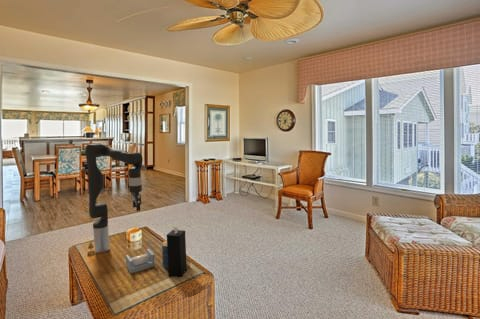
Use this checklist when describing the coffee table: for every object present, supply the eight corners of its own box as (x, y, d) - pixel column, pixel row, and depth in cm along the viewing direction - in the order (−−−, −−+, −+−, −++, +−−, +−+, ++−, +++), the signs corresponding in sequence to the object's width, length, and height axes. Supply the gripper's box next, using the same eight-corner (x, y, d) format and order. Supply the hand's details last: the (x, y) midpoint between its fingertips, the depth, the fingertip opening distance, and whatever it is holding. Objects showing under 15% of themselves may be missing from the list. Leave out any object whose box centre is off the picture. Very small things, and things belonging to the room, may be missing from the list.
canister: (170, 257, 170) (169, 231, 169) (187, 260, 166) (186, 234, 164) (158, 267, 158) (156, 240, 156) (176, 271, 154) (175, 242, 152)
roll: (133, 266, 154) (131, 257, 156) (132, 268, 158) (130, 259, 160) (149, 261, 159) (147, 252, 162) (147, 263, 164) (145, 254, 166)
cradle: (126, 266, 160) (125, 255, 159) (149, 259, 168) (148, 248, 168) (130, 273, 152) (129, 261, 151) (154, 266, 160) (153, 254, 160)
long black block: (181, 277, 147) (179, 230, 144) (168, 276, 148) (166, 229, 145) (186, 270, 155) (185, 225, 151) (174, 269, 156) (172, 224, 153)
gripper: (126, 182, 168) (127, 207, 170) (131, 187, 157) (133, 213, 159) (138, 181, 172) (139, 205, 174) (144, 185, 161) (145, 210, 163)
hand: (136, 208), depth 167 cm, fingers open, 8 cm apart
